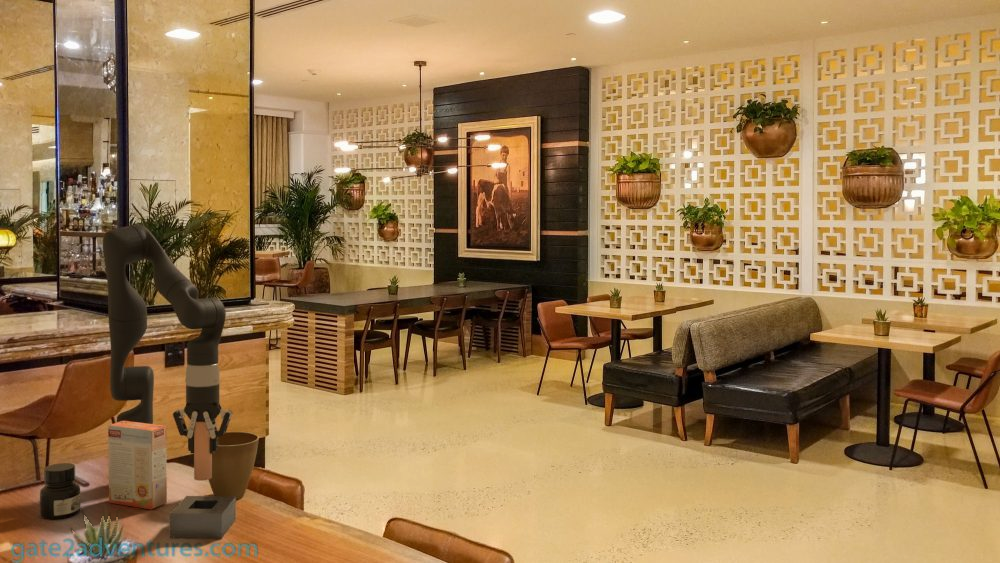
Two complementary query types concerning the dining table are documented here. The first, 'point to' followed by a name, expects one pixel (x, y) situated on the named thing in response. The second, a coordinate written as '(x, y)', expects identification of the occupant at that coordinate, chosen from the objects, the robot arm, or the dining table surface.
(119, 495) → the cracker box
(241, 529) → the dining table surface
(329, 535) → the dining table surface
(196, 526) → the socket
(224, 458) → the plant pot
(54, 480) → the ink bottle
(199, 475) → the peg
